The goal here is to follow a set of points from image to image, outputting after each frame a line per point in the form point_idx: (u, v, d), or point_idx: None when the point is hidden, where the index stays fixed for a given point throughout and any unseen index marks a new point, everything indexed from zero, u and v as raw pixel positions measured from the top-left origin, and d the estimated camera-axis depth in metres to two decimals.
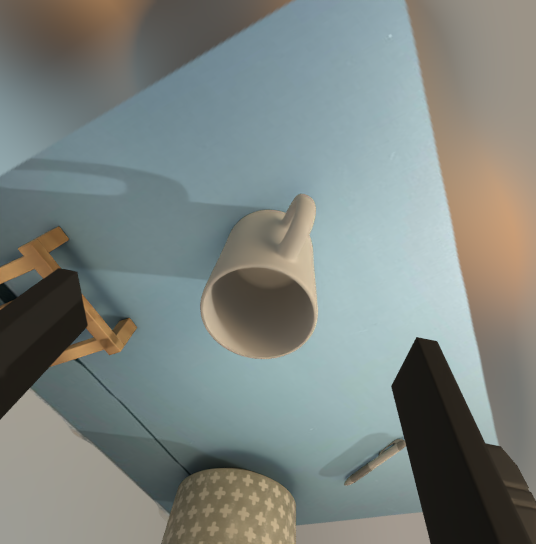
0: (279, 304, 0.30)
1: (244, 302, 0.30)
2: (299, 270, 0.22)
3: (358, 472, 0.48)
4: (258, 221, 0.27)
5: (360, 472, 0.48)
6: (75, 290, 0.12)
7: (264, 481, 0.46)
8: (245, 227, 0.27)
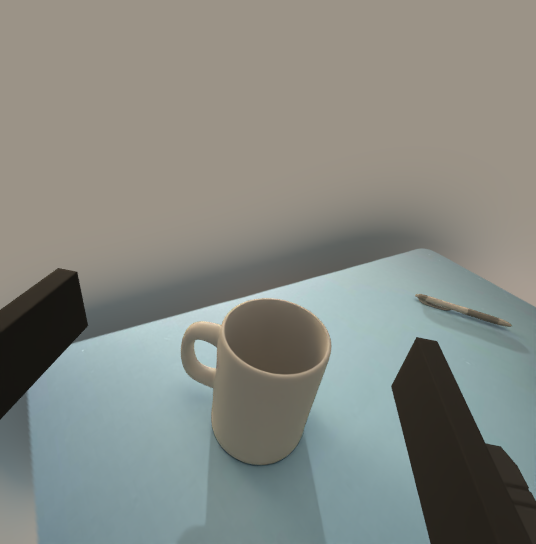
0: None
1: None
2: None
3: (483, 318, 0.48)
4: (214, 407, 0.27)
5: (481, 316, 0.48)
6: (75, 290, 0.12)
7: None
8: (219, 413, 0.25)
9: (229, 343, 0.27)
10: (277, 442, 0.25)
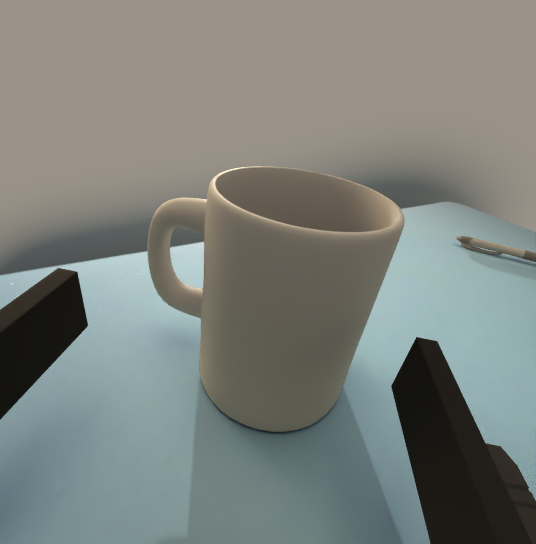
0: None
1: None
2: None
3: None
4: (203, 340, 0.16)
5: None
6: (75, 290, 0.12)
7: None
8: (211, 345, 0.15)
9: None
10: (310, 388, 0.14)
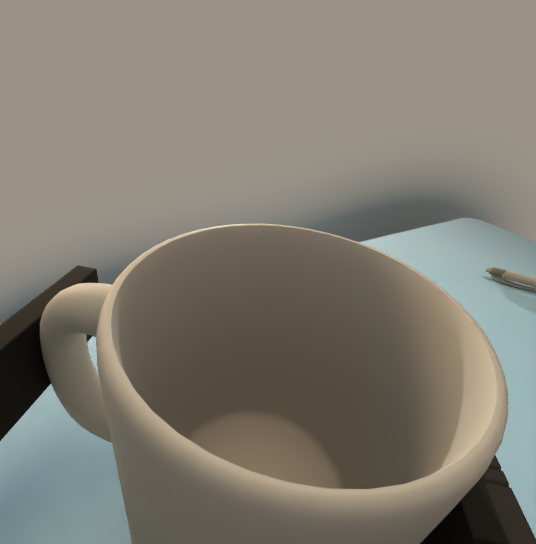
0: (347, 413, 0.12)
1: None
2: None
3: None
4: None
5: None
6: None
7: None
8: None
9: (168, 342, 0.10)
10: None
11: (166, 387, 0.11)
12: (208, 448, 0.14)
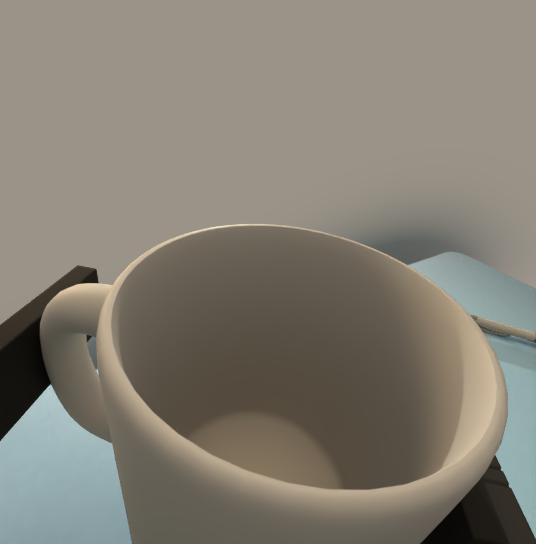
0: (347, 414, 0.12)
1: None
2: None
3: None
4: None
5: None
6: None
7: None
8: None
9: (168, 342, 0.10)
10: None
11: (166, 387, 0.11)
12: (208, 448, 0.14)
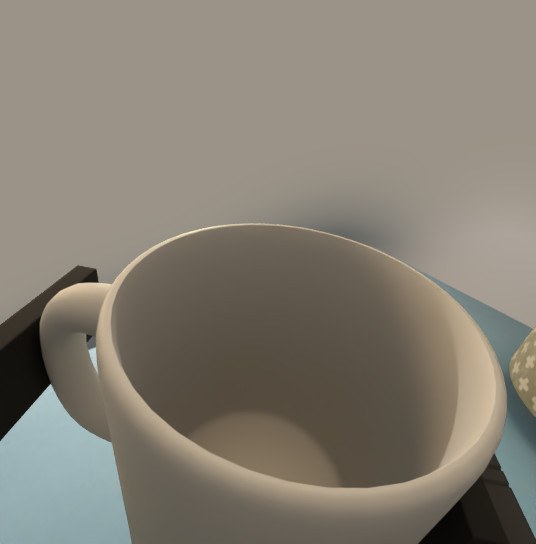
0: (346, 413, 0.12)
1: None
2: None
3: None
4: None
5: None
6: None
7: (520, 386, 0.33)
8: None
9: (168, 342, 0.10)
10: None
11: (166, 387, 0.11)
12: (208, 448, 0.14)
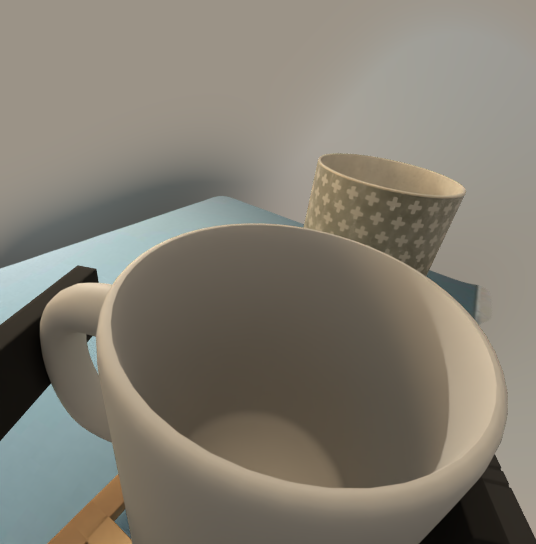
0: (347, 413, 0.12)
1: None
2: None
3: None
4: None
5: None
6: None
7: None
8: None
9: (168, 342, 0.10)
10: None
11: (166, 387, 0.11)
12: (208, 448, 0.14)
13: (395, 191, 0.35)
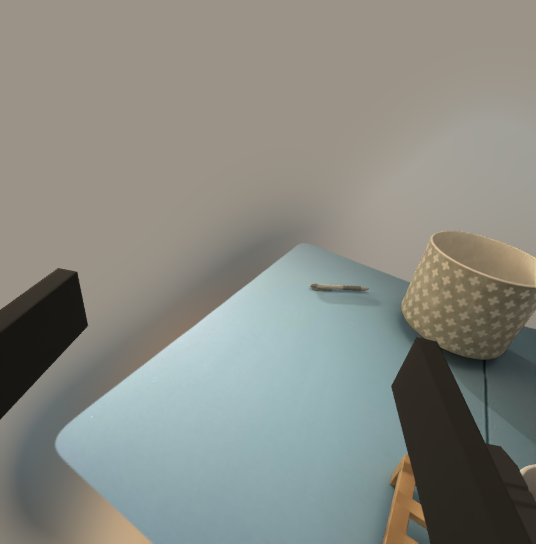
0: None
1: None
2: None
3: (352, 289, 0.71)
4: None
5: (351, 288, 0.71)
6: (75, 290, 0.12)
7: (407, 317, 0.60)
8: None
9: None
10: None
11: None
12: None
13: (512, 283, 0.46)
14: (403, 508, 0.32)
